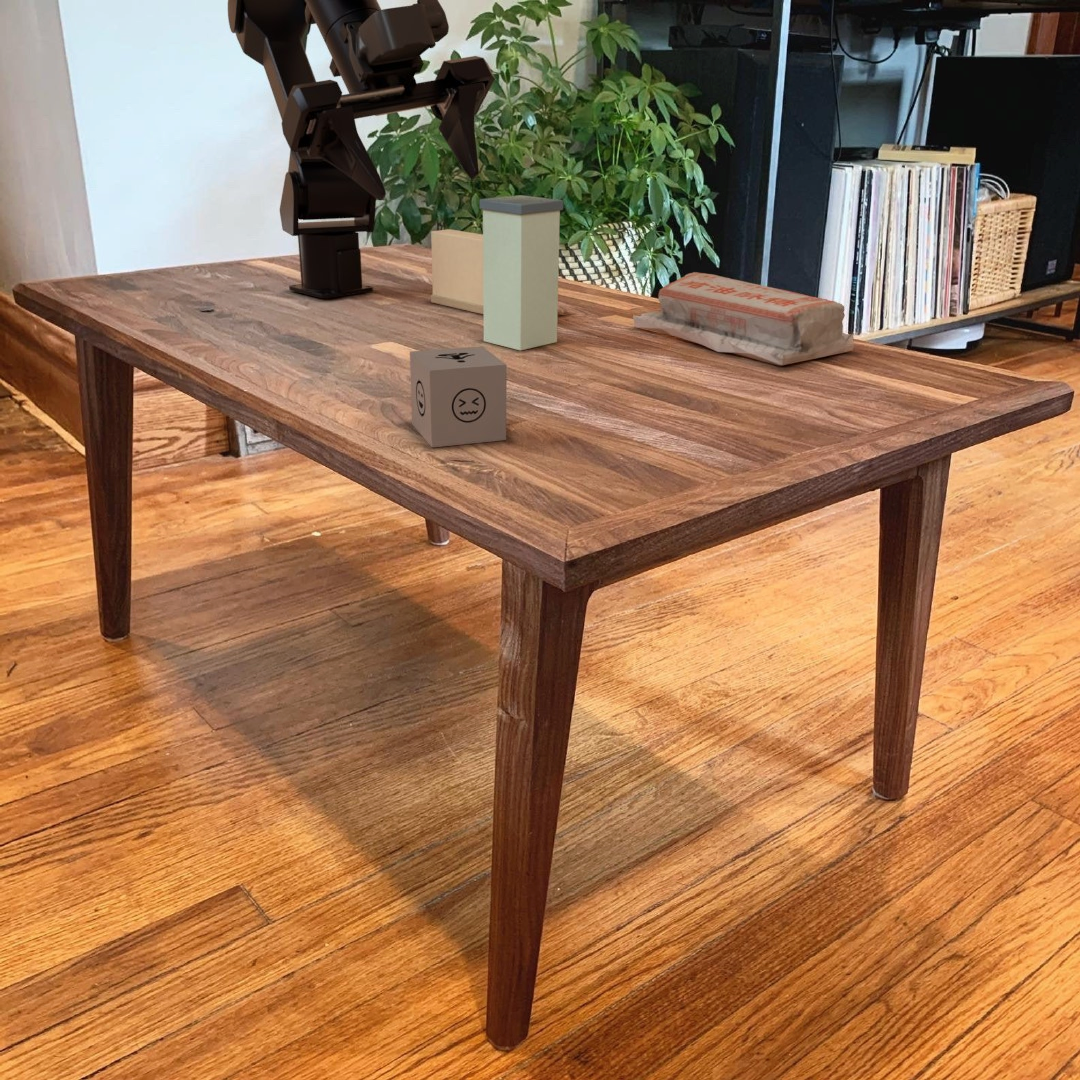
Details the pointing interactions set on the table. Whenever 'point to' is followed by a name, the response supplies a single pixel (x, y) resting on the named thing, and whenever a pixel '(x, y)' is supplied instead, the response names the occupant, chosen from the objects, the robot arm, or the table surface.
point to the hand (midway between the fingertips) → (430, 186)
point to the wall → (457, 269)
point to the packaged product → (748, 319)
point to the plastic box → (520, 270)
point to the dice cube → (458, 396)
